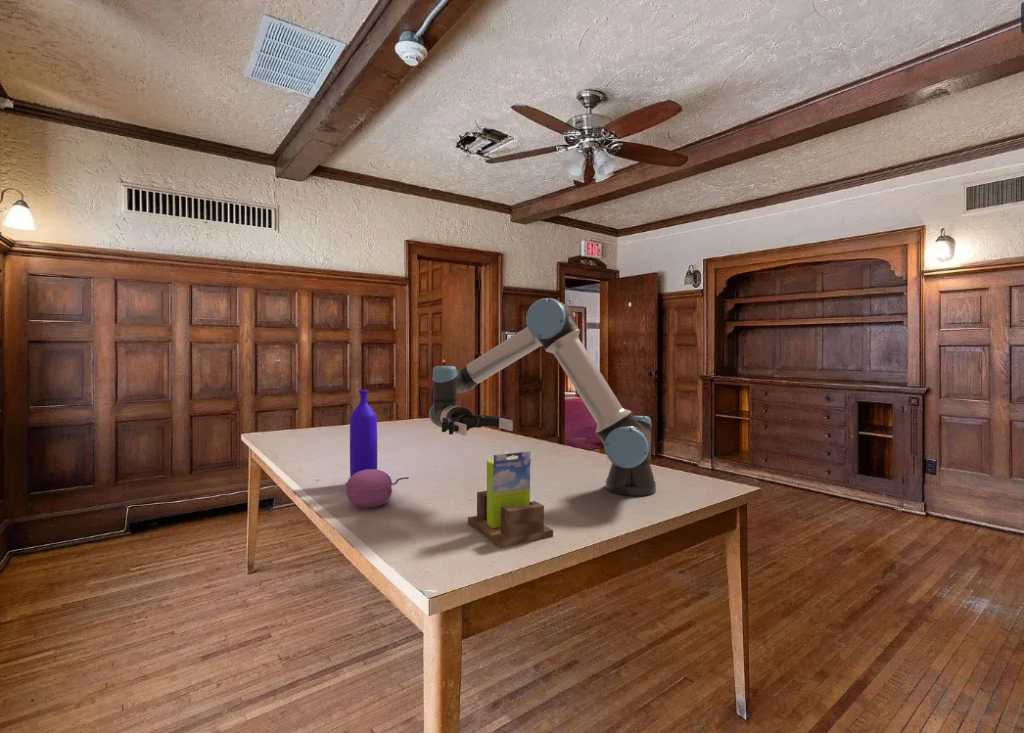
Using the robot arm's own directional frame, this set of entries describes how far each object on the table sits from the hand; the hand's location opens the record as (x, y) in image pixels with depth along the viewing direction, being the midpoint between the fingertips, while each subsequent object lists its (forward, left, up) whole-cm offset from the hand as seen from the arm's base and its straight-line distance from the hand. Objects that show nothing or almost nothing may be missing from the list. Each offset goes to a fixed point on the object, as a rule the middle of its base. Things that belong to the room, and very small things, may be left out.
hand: (489, 427), depth 133 cm
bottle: (+23, -42, -23) cm, 53 cm away
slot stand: (+1, +14, -22) cm, 26 cm away
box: (+1, +14, -21) cm, 25 cm away
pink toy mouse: (+23, -20, -23) cm, 38 cm away
